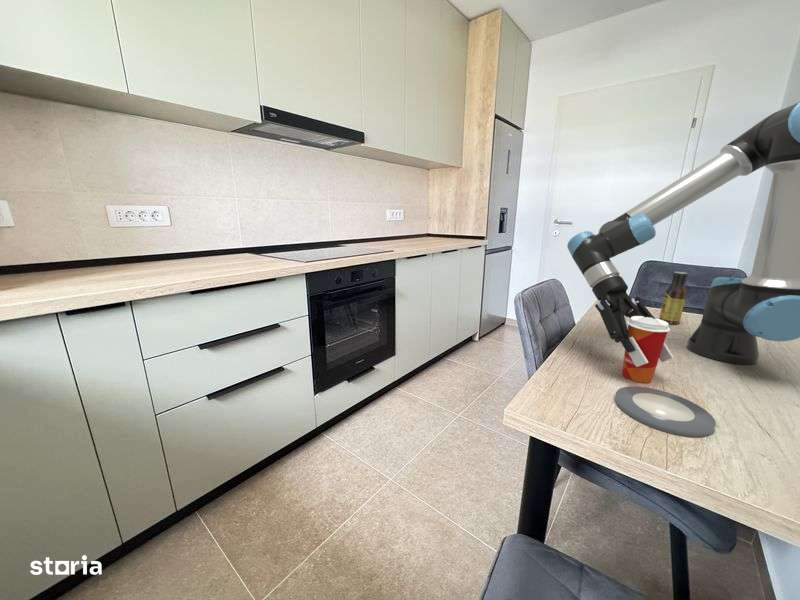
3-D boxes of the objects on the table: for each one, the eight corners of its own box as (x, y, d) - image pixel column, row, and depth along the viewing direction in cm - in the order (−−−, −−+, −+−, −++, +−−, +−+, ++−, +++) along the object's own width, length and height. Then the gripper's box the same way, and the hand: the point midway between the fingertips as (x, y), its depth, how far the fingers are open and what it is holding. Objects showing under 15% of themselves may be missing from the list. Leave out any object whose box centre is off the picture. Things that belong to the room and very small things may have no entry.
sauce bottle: (660, 319, 129) (672, 270, 124) (680, 323, 125) (693, 272, 120) (656, 322, 125) (668, 271, 120) (676, 326, 120) (690, 274, 115)
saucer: (647, 386, 76) (648, 381, 76) (733, 427, 61) (735, 421, 61) (597, 397, 71) (598, 392, 70) (678, 445, 56) (680, 439, 56)
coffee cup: (618, 366, 86) (629, 313, 82) (657, 376, 81) (671, 320, 77) (614, 378, 80) (626, 320, 76) (656, 389, 75) (671, 328, 71)
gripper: (622, 287, 93) (670, 362, 82) (566, 291, 86) (610, 373, 75) (644, 272, 87) (699, 351, 76) (586, 275, 80) (638, 362, 69)
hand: (655, 362), depth 76 cm, fingers closed on coffee cup, 8 cm apart
